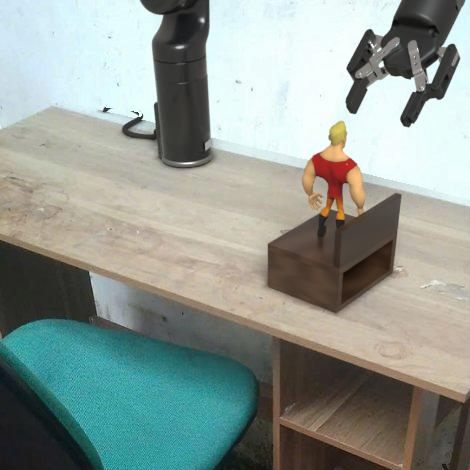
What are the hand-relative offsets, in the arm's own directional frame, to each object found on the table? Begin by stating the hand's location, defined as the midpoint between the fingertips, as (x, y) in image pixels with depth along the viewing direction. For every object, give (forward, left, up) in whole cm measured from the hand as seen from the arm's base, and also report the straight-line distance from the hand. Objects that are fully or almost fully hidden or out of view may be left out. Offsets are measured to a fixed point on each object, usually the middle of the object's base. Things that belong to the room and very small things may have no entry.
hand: (376, 117), depth 105 cm
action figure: (0, -9, -13) cm, 16 cm away
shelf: (0, -9, -19) cm, 22 cm away
